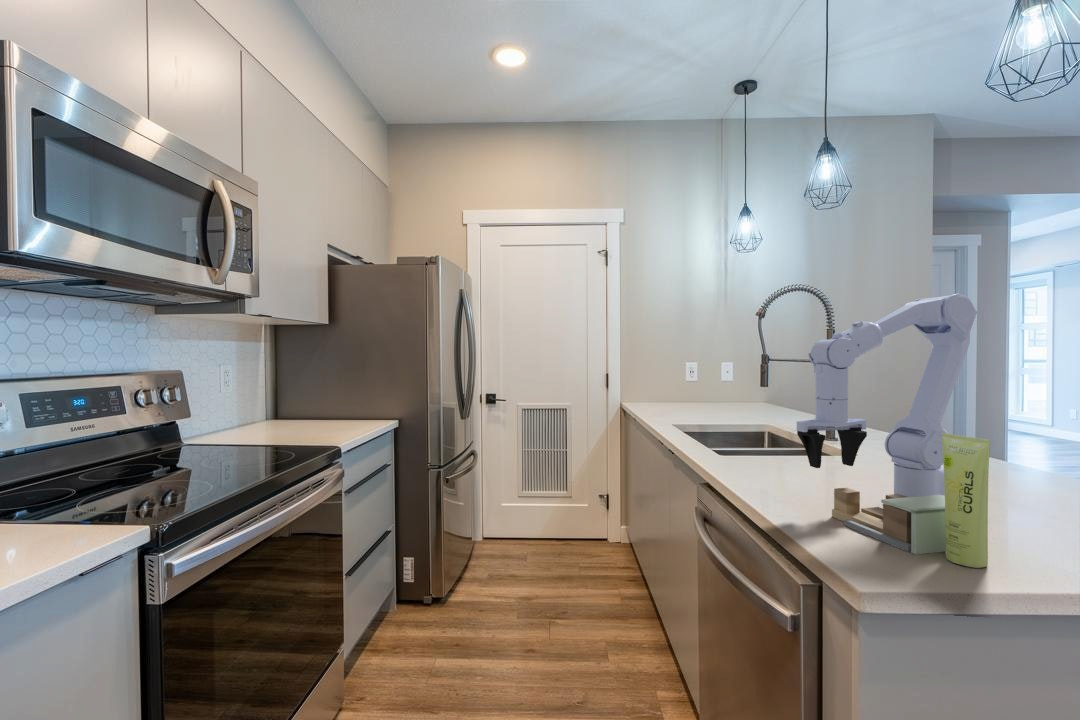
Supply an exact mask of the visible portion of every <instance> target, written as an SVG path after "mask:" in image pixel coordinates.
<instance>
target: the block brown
mask: <svg viewBox="0 0 1080 720" xmlns="http://www.w3.org/2000/svg"><path fill="white" fill-rule="evenodd" d="M906 497H907V496H904V495H900V494H894V493H892V494H886V495H885V499H894V498H906ZM860 508H861V507H860ZM860 512H863V513H865V514H868V515H871V516H873V517H876V518H879V519H881V520H883V507H880V506H875V507H863V508H861V509H860Z"/></svg>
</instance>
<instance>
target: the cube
mask: <svg viewBox="0 0 1080 720" xmlns="http://www.w3.org/2000/svg"><path fill="white" fill-rule="evenodd" d="M882 508H883V530H885V531H888V532H890V533H893V534H895V535H898V536H900V537H903V538H905V539H911V512H908V511H905V510H902V509H899V508H896V507H893V506H890V505H888V504H883V503H882Z"/></svg>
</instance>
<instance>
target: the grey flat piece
mask: <svg viewBox="0 0 1080 720" xmlns="http://www.w3.org/2000/svg"><path fill="white" fill-rule="evenodd" d="M843 526H846V527H848V528H850V529H852V530H855V531H858V532H860V533H863V534H864V535H867V536H869V537H872V538H873V539H877V540H879V541H881V542H883V543H886V544H888V545H890V546H892V547H895V548H897V549H900V550H902V551H904V552H908V553H911V544H909V543H906V542H904V541H901V540H899V539H896V538H894V537H891V536H889V535H886V534H884V533H881V532H879V531H876V530H874V529H871V528H869V527H866V526H864V525H861V524H859V523H856V522H854V521H851V520H849V519H847V520H844V521H843Z"/></svg>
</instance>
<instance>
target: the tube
mask: <svg viewBox="0 0 1080 720" xmlns="http://www.w3.org/2000/svg"><path fill="white" fill-rule="evenodd" d="M942 444H943V463H944V464H943V468H944V490H945V531H946V551H945V558H946V559H947V560H948V561H950V562H951V563H954V564H957V565H959V566H963V567H969V568H973V569H979V568H981V569H982V568H985V567H987V566H988V564H989V561H988V560H989V543H988V542H989V537H988V535H989V534H988V533H989V531H988V530H989V527H988V526H989V520H988V518H989V517H988V515H989V514H988V513H989V511H988V509H989V470H990V469H989V467H990V453H991V452H990V450H991V449H990V448H991V439H986V438H980V437H979V438H978V437H973V436H972V437H971V436H965V435H959V434H952V433H948V434H947V433H942Z"/></svg>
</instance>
